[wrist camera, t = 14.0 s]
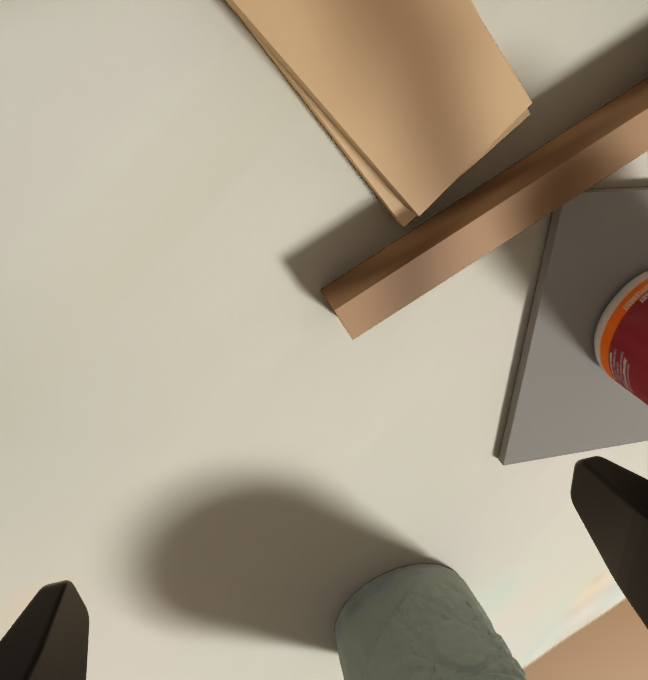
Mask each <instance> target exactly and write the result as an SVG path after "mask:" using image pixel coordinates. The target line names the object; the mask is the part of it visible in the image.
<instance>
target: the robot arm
mask: <svg viewBox="0 0 648 680" xmlns="http://www.w3.org/2000/svg"><path fill="white" fill-rule="evenodd" d="M571 499H572V502H573V505H574V507H575V509H576V510H577V512H578V514H579V516H580V518H581V520H582V521H583V523H584V525H585V527H586V529H587V531H588V532H589V534H590V536H591V538H592V540H593V542H594V543H595V545H596V547H597V549H598V551H599V553H600V554H601V556H602V558H603V560H604V562H605V564H606V565H607V567H608V569H609V571H610V573H611V574H612V576H613V578H614V579H615V581H616V583H617V584H618V586H619V587H620V589H621V590H622V592H623V593H624V595H625V596H626V598H627V599H628V601H629V602H630V604H631V605H632V607H633V608H634V610H635V611H636V613H638V615H639V617H640V618H641V620H642V621H643V623H644V624H645V626H646V627H647V629H648V480H647V479H645V478H643V477H641V476H639V475H637V474H635V473H633V472H631V471H629V470H627V469H625V468H623V467H621V466H619V465H617V464H615V463H613V462H611V461H609V460H607V459H605V458H603V457H599V456H594V457H590V458H585V459H581V460H579V461H577V463H576V464H575V467H574V473H573V479H572V485H571ZM88 636H89V615H88V611H87V608H86V606H85V604H84V603H83V601H82V599H81V597H80V595H79V593H78V592H77V590H76V588H75V586H74V585H73V583H72V582H70V581H68V580H65V581H61V582H56V583H52V584H48V585H45V586H44V587H42V588H41V589H40V590H39V591H38V593H37V594H36V595H35V597H34V598H33V599H32V600H31V602H30V603H29V604H28V606H27V607H26V608H25V610H24V611H23V612H22V614H21V615H20V616H19V617H18V619H17V620H16V621H15V623H14V624H13V625H12V627H11V628H10V629H9V630H8V632H7V633H6V634H5V636H4V637H3V638H2V640H1V641H0V680H86V672H87V654H88Z"/></svg>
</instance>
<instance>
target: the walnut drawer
mask: <svg viewBox="0 0 648 680" xmlns="http://www.w3.org/2000/svg"><path fill="white" fill-rule="evenodd" d="M646 151H648V78H647V79H645V80H644V81H642V82H641V83H639V84H638V85H636V86H635V87H633V88H631V89H630V90H628V91H627V92H625V93H624V94H622V95H621V96H619V97H618V98H616V99H614V100H613V101H611V102H610V103H608V104H607V105H605V106H604V107H602V108H601V109H599V110H597V111H596V112H594V113H593V114H591V115H590V116H588V117H587V118H585V119H584V120H582V121H581V122H579V123H577V124H576V125H574V126H573V127H571V128H570V129H568V130H567V131H565V132H564V133H562V134H560V135H559V136H557V137H556V138H554V139H553V140H551V141H550V142H548V143H547V144H545V145H543V146H542V147H540V148H539V149H537V150H536V151H534V152H533V153H531V154H530V155H528V156H526V157H525V158H523V159H522V160H520V161H519V162H517V163H516V164H514V165H513V166H511V167H509V168H508V169H506V170H505V171H503V172H502V173H500V174H499V175H497V176H496V177H494V178H493V179H491V180H489V181H488V182H486V183H485V184H483V185H482V186H480V187H479V188H477V189H476V190H474V191H472V192H471V193H469V194H468V195H466V196H465V197H463V198H462V199H460V200H459V201H457V202H455V203H454V204H452V205H451V206H449V207H448V208H446V209H445V210H443V211H442V212H440V213H438V214H437V215H435V216H434V217H432V218H431V219H429V220H428V221H426V222H425V223H423V224H422V225H420V226H418V227H417V228H415V229H414V230H412V231H411V232H409V233H408V234H406V235H405V236H403V237H401V238H400V239H398V240H397V241H395V242H394V243H392V244H391V245H389V246H388V247H386V248H384V249H383V250H381V251H380V252H378V253H377V254H375V255H374V256H372V257H371V258H369V259H367V260H366V261H364V262H363V263H361V264H360V265H358V266H357V267H355V268H354V269H352V270H351V271H349V272H347V273H346V274H344V275H343V276H341V277H340V278H338V279H337V280H335V281H334V282H332V283H330V284H329V285H327V286H326V287H324V288H323V289H321V291H322V293H323V295H324V296H325V298H326V299H327V301H328V302H329V304H330V306H331V307H332V309H333V310H334V312H335V313H336V315H337V316H338V318H339V320H340V321H341V323H342V324H343V326H344V327H345V329H346V330H347V332H348V333H349V335H350V336H351V338H352V339H355V338H356V337H358V336H360V335H361V334H363V333H364V332H366V331H367V330H369V329H370V328H372V327H374V326H375V325H377V324H378V323H380V322H381V321H383V320H384V319H386V318H388V317H389V316H391V315H392V314H394V313H395V312H397V311H399V310H400V309H402V308H403V307H405V306H406V305H408V304H409V303H411V302H413V301H414V300H416V299H417V298H419V297H420V296H422V295H423V294H425V293H427V292H428V291H430V290H431V289H433V288H434V287H436V286H437V285H439V284H441V283H442V282H444V281H445V280H447V279H448V278H450V277H451V276H453V275H455V274H456V273H458V272H459V271H461V270H462V269H464V268H466V267H467V266H469V265H470V264H472V263H473V262H475V261H476V260H478V259H480V258H481V257H483V256H484V255H486V254H487V253H489V252H490V251H492V250H494V249H495V248H497V247H498V246H500V245H501V244H503V243H504V242H506V241H508V240H509V239H511V238H512V237H514V236H515V235H517V234H518V233H520V232H522V231H523V230H525V229H526V228H528V227H529V226H531V225H532V224H534V223H536V222H537V221H539V220H540V219H542V218H543V217H545V216H547V215H548V214H550V213H551V212H553V211H554V210H556V209H557V208H559V207H561V206H562V205H564V204H565V203H567V202H568V201H570V200H571V199H573V198H575V197H576V196H578V195H579V194H581V193H582V192H584V191H585V190H587V189H589V188H590V187H592V186H593V185H595V184H596V183H598V182H599V181H601V180H603V179H604V178H606V177H607V176H609V175H610V174H612V173H614V172H615V171H617V170H618V169H620V168H621V167H623V166H624V165H626V164H628V163H629V162H631V161H632V160H634V159H635V158H637V157H638V156H640V155H642V154H643V153H645V152H646Z"/></svg>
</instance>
